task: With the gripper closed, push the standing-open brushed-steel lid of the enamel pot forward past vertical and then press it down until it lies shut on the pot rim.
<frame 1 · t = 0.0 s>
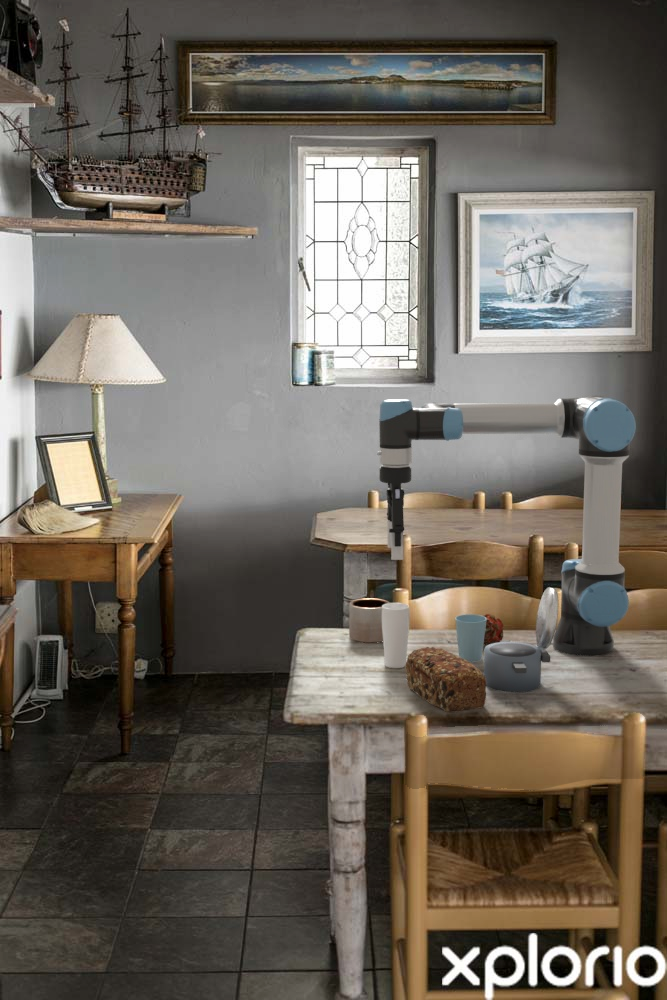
hand: (395, 553, 268), 28 cm above the table, fingers open, 13 cm apart
bread: (445, 699, 250), on the table
lid: (549, 619, 257), point 15 cm above the table, hinge at 100.0°
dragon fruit: (486, 644, 291), on the table
cup: (470, 659, 278), on the table
drinking glass: (395, 666, 273), on the table
pot: (512, 683, 259), on the table
planter: (369, 639, 296), on the table
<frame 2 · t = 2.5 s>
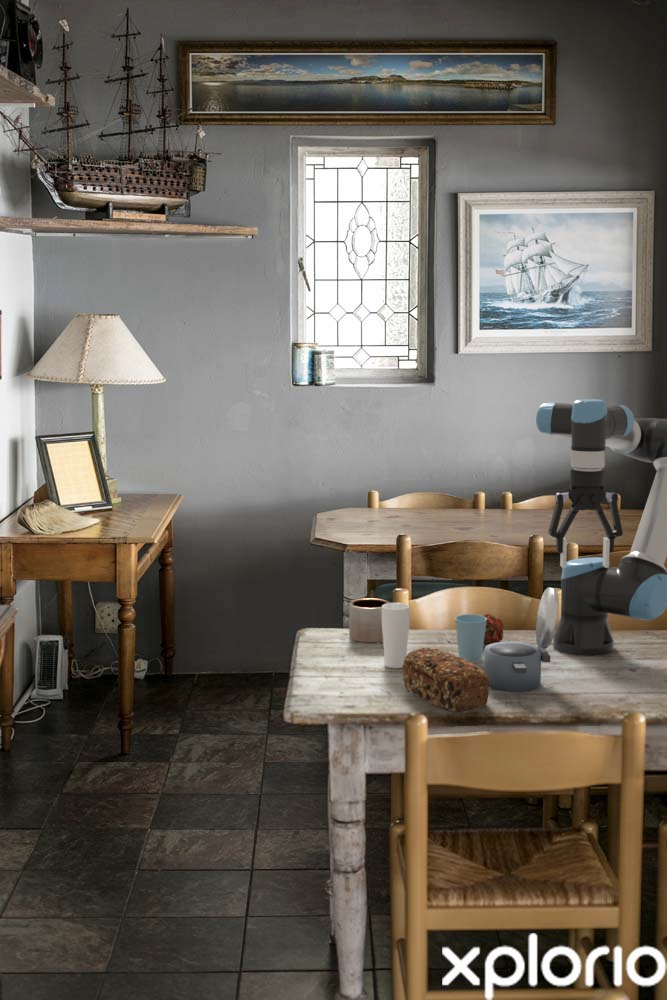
hand: (584, 566, 255), 27 cm above the table, fingers open, 9 cm apart
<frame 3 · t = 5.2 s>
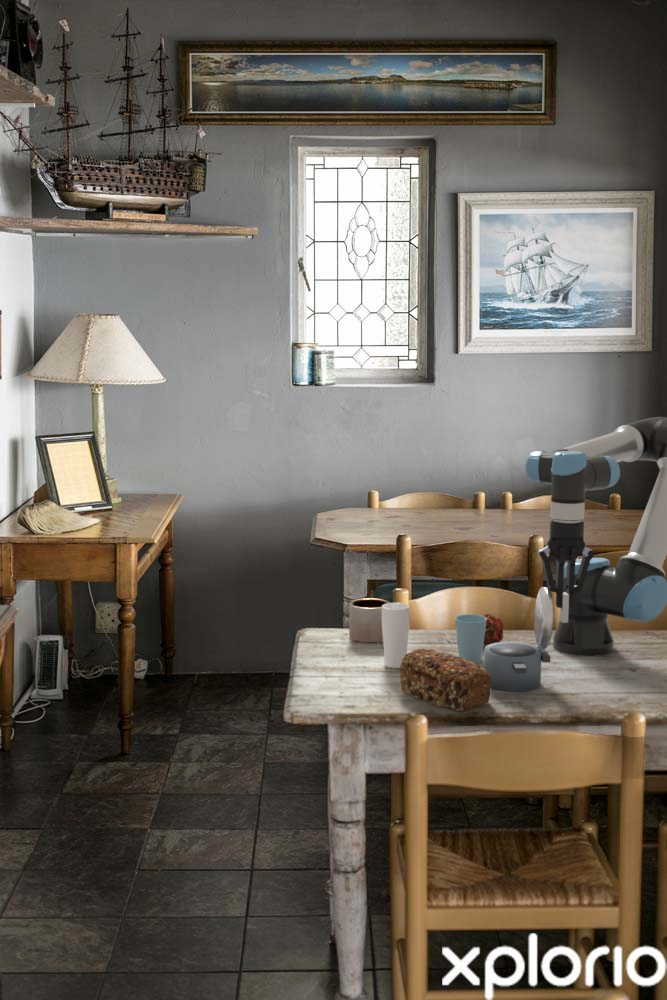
hand: (563, 621, 257), 15 cm above the table, fingers closed
lid: (546, 618, 257), point 15 cm above the table, hinge at 93.7°, touching gripper, hand
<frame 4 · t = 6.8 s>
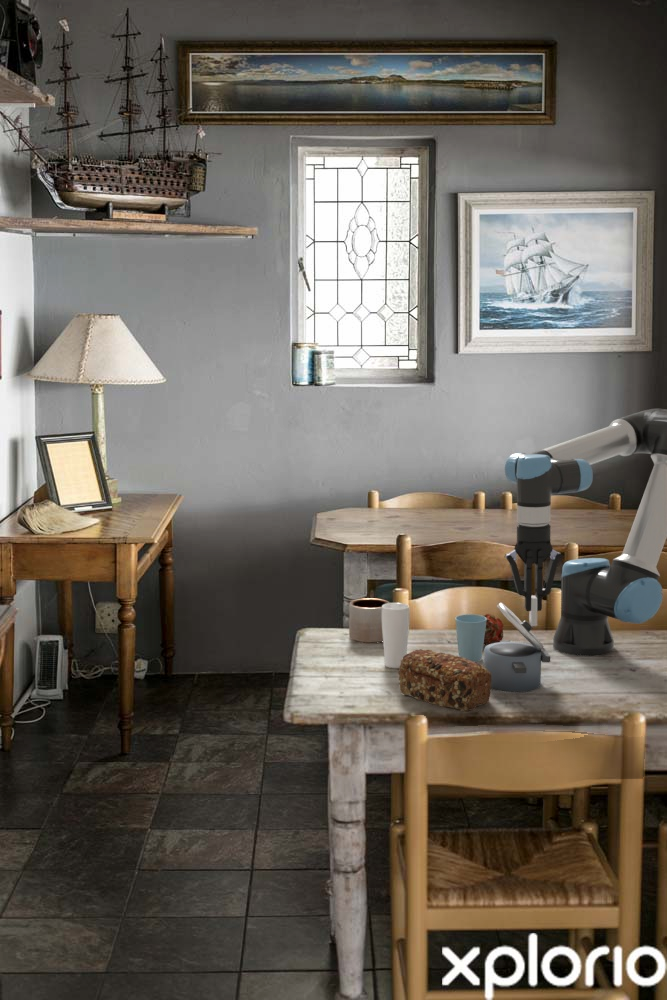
hand: (533, 624, 257), 14 cm above the table, fingers closed
lid: (522, 625, 257), point 14 cm above the table, hinge at 45.5°, touching gripper
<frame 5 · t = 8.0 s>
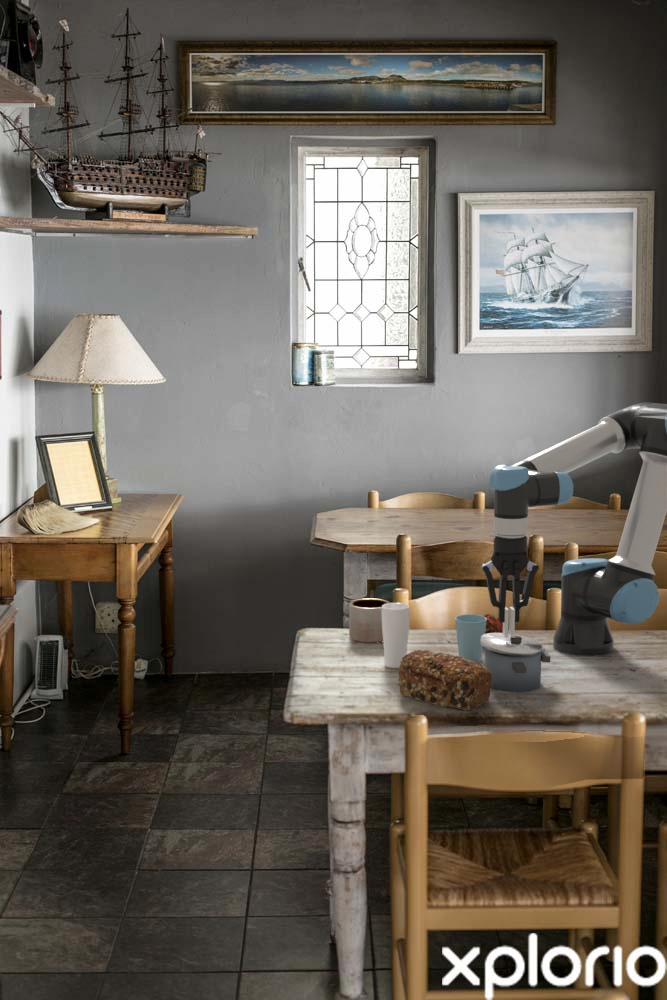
hand: (508, 635, 257), 11 cm above the table, fingers closed
lid: (512, 641, 258), point 10 cm above the table, hinge at 6.3°, touching gripper
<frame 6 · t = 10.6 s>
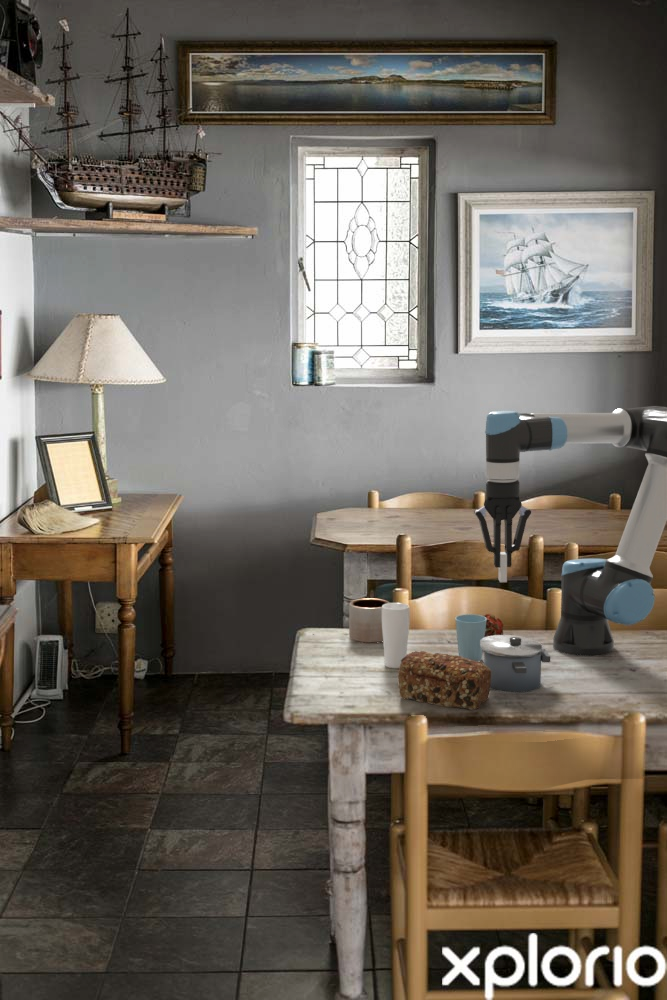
hand: (502, 580, 258), 24 cm above the table, fingers closed
lid: (511, 643, 258), point 9 cm above the table, hinge at 2.5°
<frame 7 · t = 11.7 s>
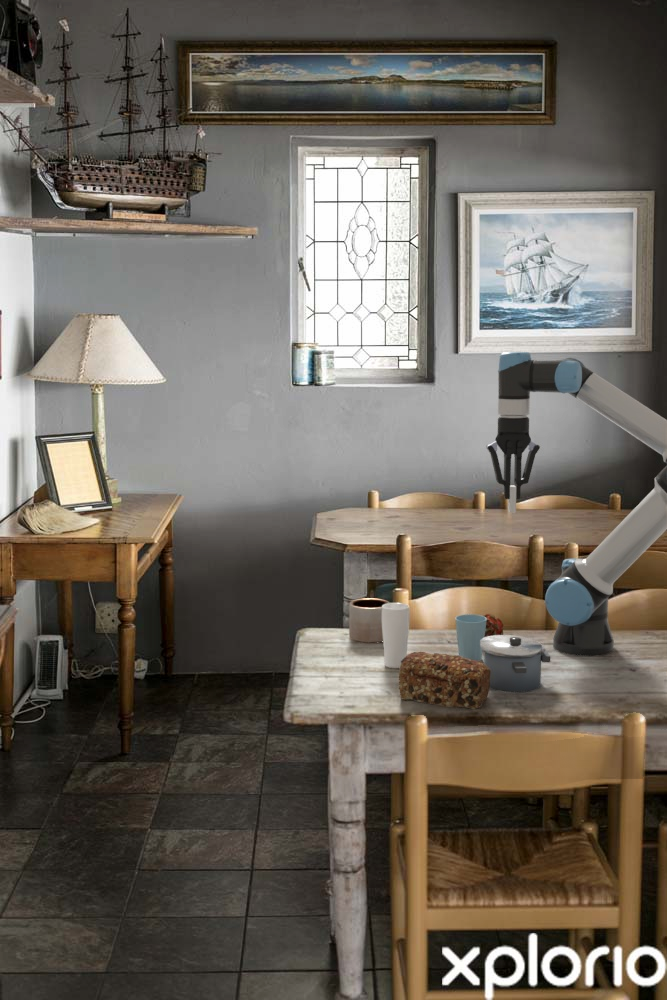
hand: (511, 512, 275), 36 cm above the table, fingers closed
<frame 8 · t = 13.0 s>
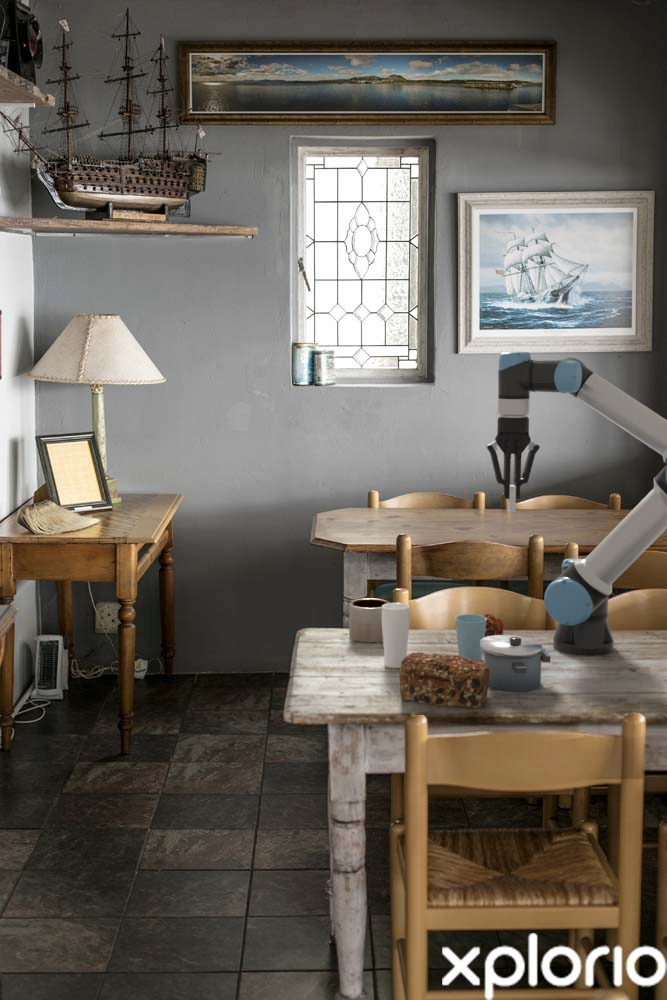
hand: (511, 511, 275), 36 cm above the table, fingers closed
at the end: lid at +2° (first picture: +100°) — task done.
